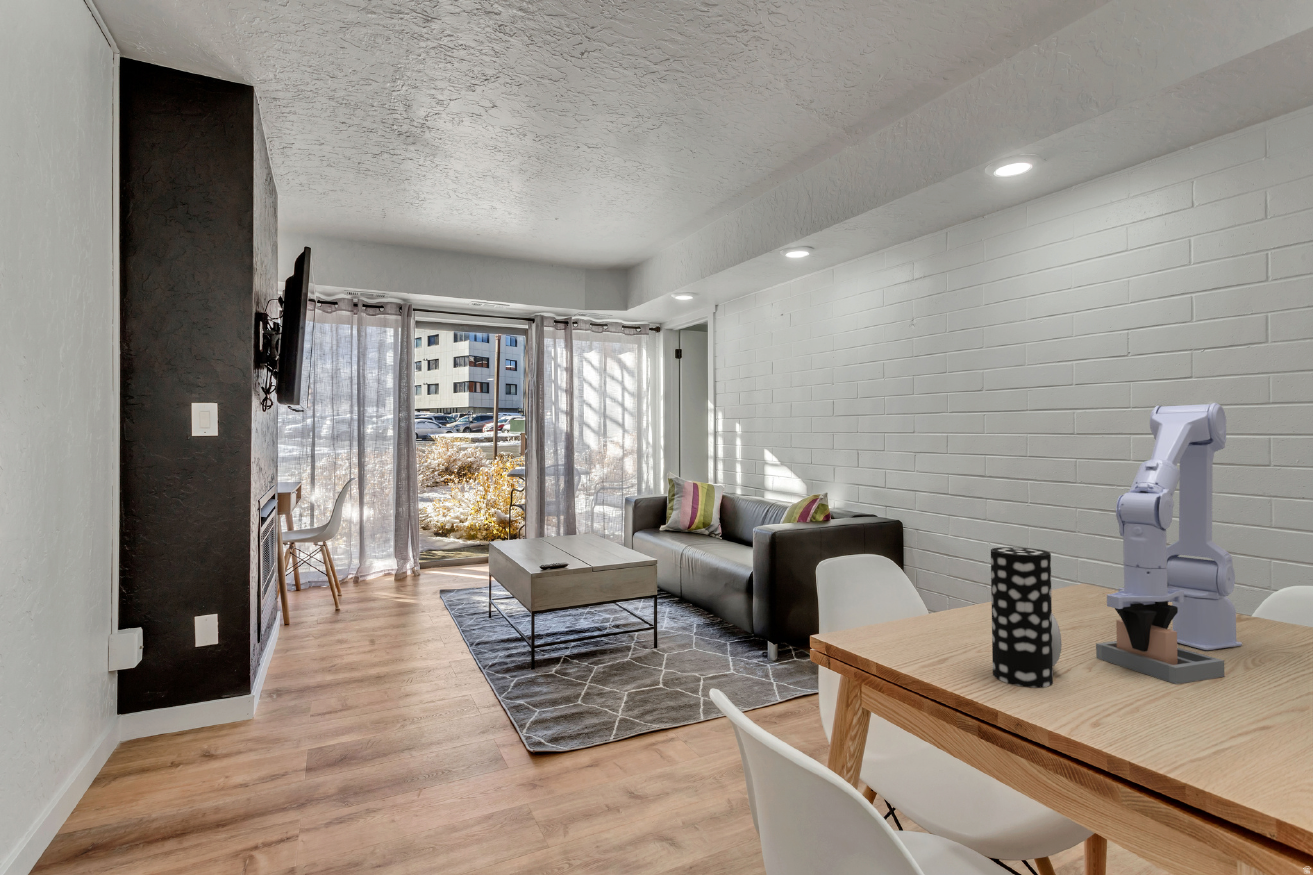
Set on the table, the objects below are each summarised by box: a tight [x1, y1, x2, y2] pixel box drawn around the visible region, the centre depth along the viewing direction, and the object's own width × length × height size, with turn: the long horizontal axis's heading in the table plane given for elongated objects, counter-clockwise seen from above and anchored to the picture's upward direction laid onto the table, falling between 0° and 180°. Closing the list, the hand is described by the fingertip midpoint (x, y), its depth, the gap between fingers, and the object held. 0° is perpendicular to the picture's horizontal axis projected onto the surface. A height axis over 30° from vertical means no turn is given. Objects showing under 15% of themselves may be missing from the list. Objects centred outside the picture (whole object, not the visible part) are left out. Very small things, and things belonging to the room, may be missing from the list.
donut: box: [1052, 613, 1062, 667], centre depth 108 cm, size 10×4×10 cm, turn 170°
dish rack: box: [1095, 640, 1225, 685], centre depth 107 cm, size 11×13×2 cm
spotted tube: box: [990, 546, 1054, 689], centre depth 103 cm, size 8×8×20 cm
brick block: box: [1115, 619, 1178, 665], centre depth 107 cm, size 2×8×7 cm, turn 17°
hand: (1146, 648), depth 107 cm, fingers closed on brick block, 2 cm apart
